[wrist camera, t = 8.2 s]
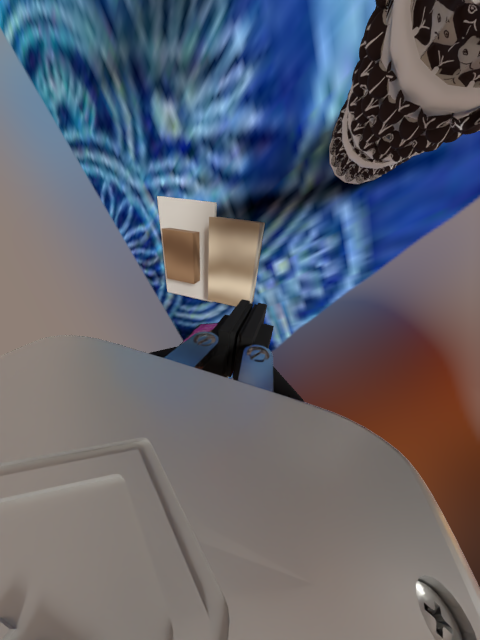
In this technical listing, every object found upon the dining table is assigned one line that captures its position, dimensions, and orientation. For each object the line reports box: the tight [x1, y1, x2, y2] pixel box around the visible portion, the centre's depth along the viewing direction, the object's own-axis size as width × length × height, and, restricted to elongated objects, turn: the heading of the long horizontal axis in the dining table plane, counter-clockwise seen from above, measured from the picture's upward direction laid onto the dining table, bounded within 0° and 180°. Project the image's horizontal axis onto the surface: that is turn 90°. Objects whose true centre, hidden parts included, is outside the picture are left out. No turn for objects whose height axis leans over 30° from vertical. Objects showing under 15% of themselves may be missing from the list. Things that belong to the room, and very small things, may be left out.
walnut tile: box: [162, 228, 200, 284], centre depth 35 cm, size 9×6×2 cm, turn 174°
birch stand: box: [208, 217, 265, 306], centre depth 32 cm, size 14×8×4 cm, turn 174°
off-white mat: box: [157, 196, 217, 302], centre depth 36 cm, size 18×11×1 cm, turn 174°
